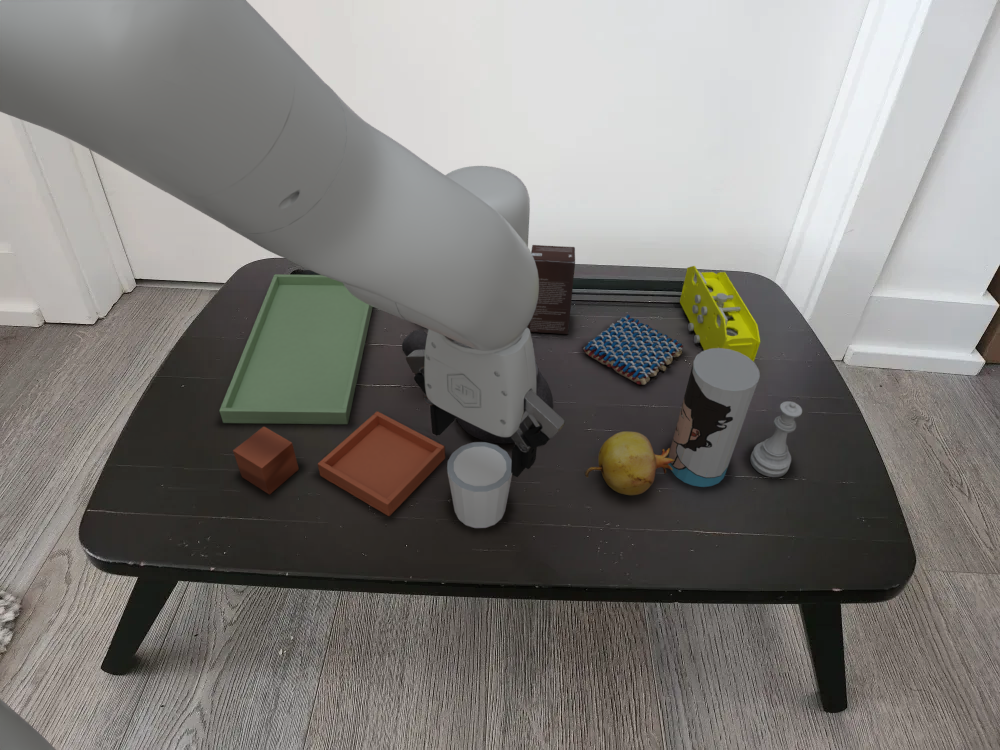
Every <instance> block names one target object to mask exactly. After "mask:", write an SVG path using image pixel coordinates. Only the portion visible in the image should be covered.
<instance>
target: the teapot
mask: <svg viewBox="0 0 1000 750" xmlns="http://www.w3.org/2000/svg"><path fill="white" fill-rule="evenodd" d="M427 334H428V332H425V331H424V330H421V329H416V330H413V331H411V332H410V333H409V334H407V336H406V337H405V338H404V339H403V341H402V344H401V350H402V352H403V354H404V356H406V357H407V356H408V355H409V354H411V353H412V352H413V351H414V350H425V347H426V340H427ZM535 364H536V395H537V396H538V397H539V398H541V399H542V400H543V401H544V402H545V403H546V404H547V405H548V406H549V407H550V408H551V409H553V410H554V400H553V399H554V398H553V394H552V391H551V388H550V386H549V384H548V382H547V380H546V379H545V377H544V375H543V373H542V372H541V371H540V370H539V365H538V363H537V361H536V360H535ZM455 419H456V422H457V423H458V424H459V425H460V427H461V428H462V429H463V430H464V431H465V432H466V433H468V434H469V435H470V436H472V437H474V438H476V439H478V440H481V441H483V442H487V443H491V444H513V443H514V444H515V442H514V441H513V439H512V438H511V437H500V436H497V435H494V434H492V433H489V432H487V431H485V430H483V429H481V428H479V427H477V426H475V425H473V424H471V423H469V422H467V421H465V420H463V419H461V418H459V417H457V416H455ZM537 422H538V421H537ZM538 423H539V422H538ZM539 425H540V426H541V424H540V423H539ZM519 428H520V429H521V431H522V432H523V434H524V433H525V431H526V430H528V429H527V427H526V426H525V424H524V423H523V422H522V423H521V424H520V425H519Z"/></svg>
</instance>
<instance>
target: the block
mask: <svg viewBox="0 0 1000 750" xmlns="http://www.w3.org/2000/svg"><path fill="white" fill-rule="evenodd" d="M232 452H233V455H234V458H235V461H236V464H237V467H238V470H239V473H240V476H241V478H242V479H244V480H246V481H247V482H249V483H251V484H252V485H254V487H257V488H258V489H260V490H262V491H263V492H265V493H266V494H267V495H271V494H272V493H274V491H276V490H277V489H278V488H279V487H281V486H282V485H283V484H284V483H285V482H286V481H287V480H289V479H290V478H291V477H292V476H293V475H295V474H296V472H298V471H299V470H300V468H299V463H298V460H297V457H296V452H295V448H294V444H293V442H292V441H290V440H288V439H287V438H285V437H283V436H281V435H279V434H278V433H276V432H275V431H273V430H271V429H269V428H268V427H266V426H262V427H261V428H259V429H258V430H257V431H256V432H254V433H253V434H252V435H251V436H250V437H248V438H247V439H245V440H244V441H243V442H242V443H241V444H240V445H238V446H236V447H235V448H234V449H233V450H232Z"/></svg>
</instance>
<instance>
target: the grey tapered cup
mask: <svg viewBox="0 0 1000 750" xmlns="http://www.w3.org/2000/svg"><path fill="white" fill-rule="evenodd" d="M511 463H512V457H511V456H510V455H509V454H508V452H507V451H506V450H505V449H503V448H502V447H500V446H499V445H498V444H495V443H491V442H487V441H474V442H470V443H467V444H464V445H461V446H460V447H458V448H457V449H455V451H453V452H452V453H451V455H450V456H449V459H448V460H447V467H446V470H447V471H446V473H447V478H448V483H449V488H450V493H451V498H452V499H451V500H452V505H453V510H454V513H455V516H456V517H457V519H458V520H459V522H461V523H463V525H465V526H467V527H470V528H474V529H486V528H489V527H492V526H495V525H496V524H497V523H498V522H500V521H501V520H502V519H503V517H504V515H505V512H506V510H507V509H506V508H507V502H508V498H509V492H510V487H511V482H512V476H513V475H512V473H511Z"/></svg>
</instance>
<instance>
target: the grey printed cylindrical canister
mask: <svg viewBox="0 0 1000 750" xmlns="http://www.w3.org/2000/svg"><path fill="white" fill-rule="evenodd" d="M760 377H761V374H760V369H759V367H758V366H757V364H756V362H755V361H754V362H753V361H752V360H751V359H750V358H748V357H747V356H745V355H743V354H741V353H740V352H737V351H733V350H730V349H723V348H713V349H708V350H705V351H704V350H702V351H700V352H699V353H698V354H696V356H695V358H694V359H693V361H692V366H691V370H690V374H689V377H688V381H687V384H686V389H685V392H684V396H683V400H682V403H681V407H680V410H679V411H680V412H679V416H678V418H677V422H676V426H675V430H674V433H673V438H672V441H671V445H670V451H669V453H668V455H667V458H670V459H673V460H675V461H673V462H671V463H669V464H668V465H669V466H671V468H672V469H673V470H671V469H670V471H671V473H672V474H673V475H674V476H675V477H676V478H677V479H679V480H680V481H682V482H683V483H685V484H687V485H690V486H693V487H699V488H707V487H712V486H715V485H717V484H719V483H721V481H722V480H723V479H724V478H725V477H726V473H727V471H728V469H729V465H730V463H731V460H732V456H733V453H734V450H735V448H736V445H737V443H738V440H739V436H740V434H741V432H742V428H743V425H744V422H745V420H746V417H747V414H748V411H749V408H750V405H751V402H752V399H753V396H754V393H755V391H756V388H757V385H758V382H759V379H760Z"/></svg>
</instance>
